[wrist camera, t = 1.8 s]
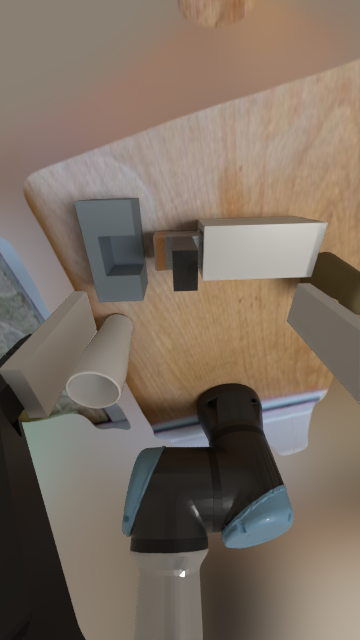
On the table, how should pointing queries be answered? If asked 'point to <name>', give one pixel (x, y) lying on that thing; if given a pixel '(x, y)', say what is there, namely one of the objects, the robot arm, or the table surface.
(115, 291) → the socket
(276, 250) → the sleeve
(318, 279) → the olive knob-topped post
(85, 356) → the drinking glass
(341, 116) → the table surface
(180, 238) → the sliding bolt
